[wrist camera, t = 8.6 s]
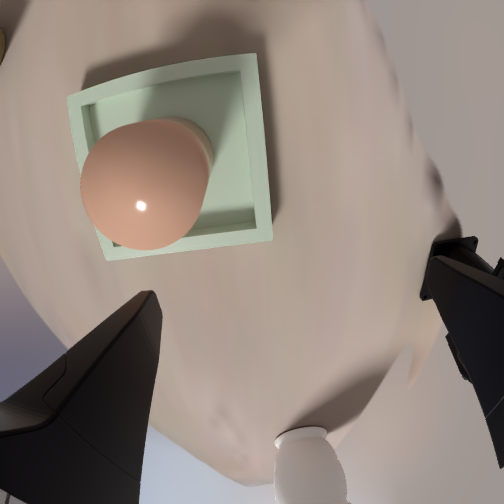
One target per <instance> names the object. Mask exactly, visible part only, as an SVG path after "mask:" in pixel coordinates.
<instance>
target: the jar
mask: <svg viewBox="0 0 504 504" xmlns="http://www.w3.org/2000/svg"><path fill="white" fill-rule="evenodd" d="M326 436H327V431H326V430H325V429H324V428H321V427H303V428H298V429H294V430H291V431H288V432H285V433H283V434H282V435H280V436H279V437H277V438H276V440H275V445H276V447H277V448H278V449H279V450H278V452H277V455H276V458H275V465H274V470H275V471H274V494H275V498H276V502H277V504H351V503H350V502H347V500H346V497H347V486H346V479H345V474H344V471H343V468H342V466H341V464H340V462H339V460H338V459H337V455H336V453H335V451H334V449H333V447H332V446H331V445H330V443H329V442H328V441H327V440H325V438H326Z"/></svg>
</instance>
